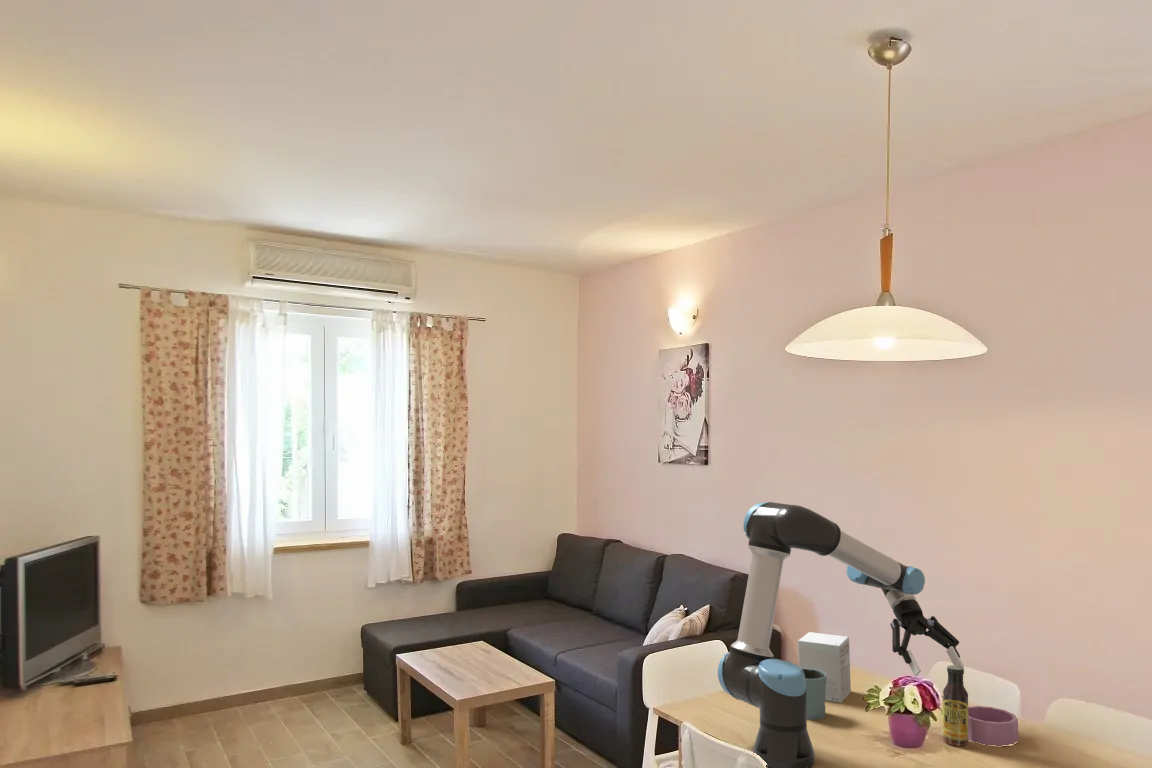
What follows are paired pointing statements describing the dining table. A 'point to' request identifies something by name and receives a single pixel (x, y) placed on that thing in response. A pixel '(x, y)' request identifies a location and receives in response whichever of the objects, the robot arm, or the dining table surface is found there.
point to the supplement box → (828, 661)
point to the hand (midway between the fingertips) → (939, 671)
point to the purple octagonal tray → (992, 726)
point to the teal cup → (815, 693)
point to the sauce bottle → (955, 708)
